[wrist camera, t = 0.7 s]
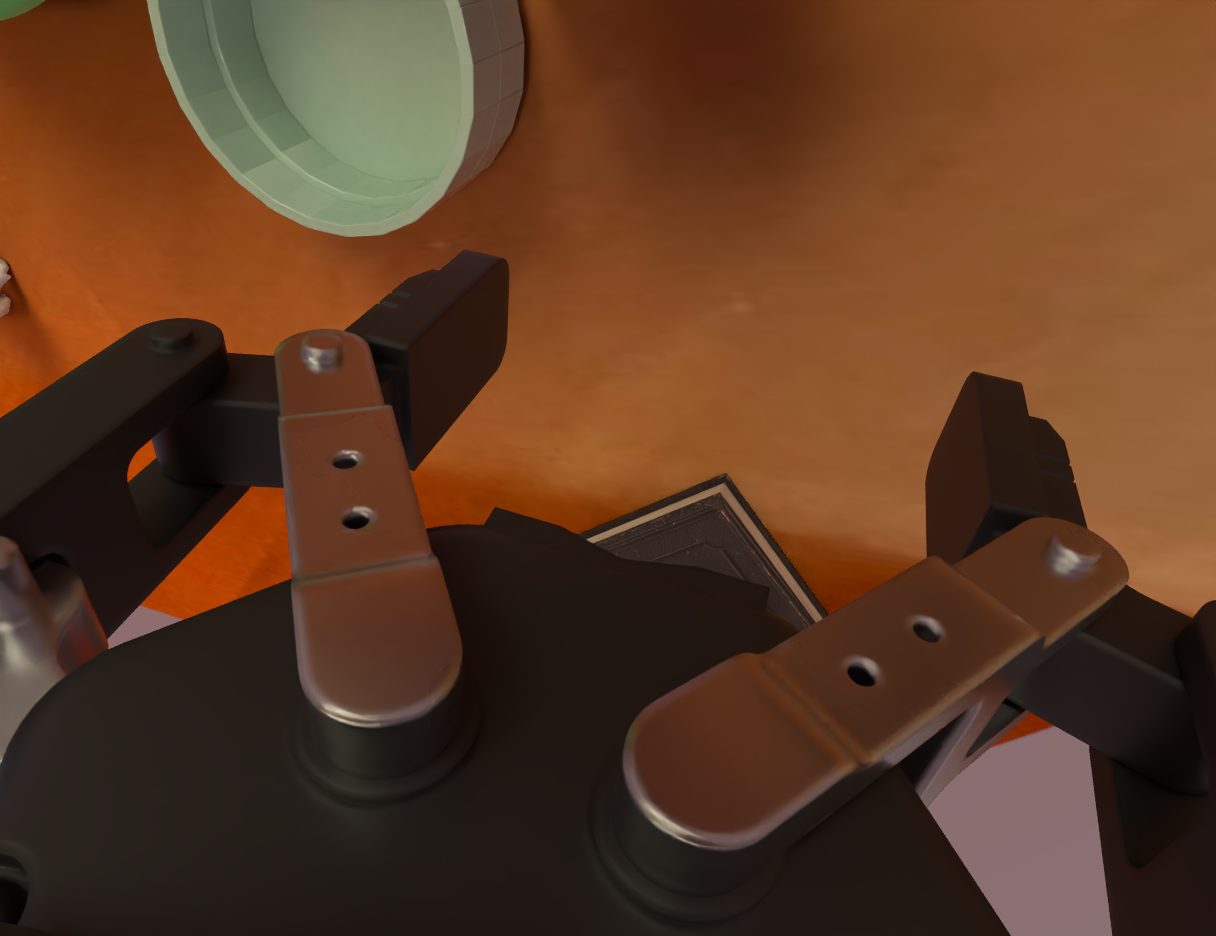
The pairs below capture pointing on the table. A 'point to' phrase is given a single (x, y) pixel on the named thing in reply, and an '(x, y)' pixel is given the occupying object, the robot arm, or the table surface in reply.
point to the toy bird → (16, 7)
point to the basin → (346, 99)
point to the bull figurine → (0, 277)
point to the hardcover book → (712, 544)
